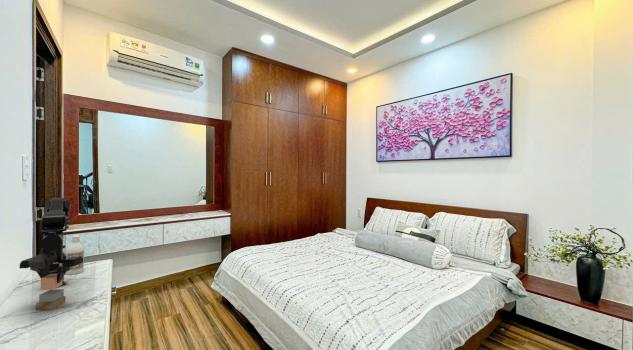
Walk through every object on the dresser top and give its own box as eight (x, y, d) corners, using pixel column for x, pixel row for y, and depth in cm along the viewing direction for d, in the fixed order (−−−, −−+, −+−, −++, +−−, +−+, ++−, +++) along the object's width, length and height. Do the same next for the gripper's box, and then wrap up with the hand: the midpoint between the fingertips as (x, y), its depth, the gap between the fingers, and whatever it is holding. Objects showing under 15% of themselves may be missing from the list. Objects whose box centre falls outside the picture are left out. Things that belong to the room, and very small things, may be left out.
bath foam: (64, 276, 137) (65, 237, 137) (67, 271, 142) (69, 235, 143) (81, 273, 140) (83, 236, 141) (84, 269, 146) (85, 234, 147)
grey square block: (39, 302, 103) (39, 294, 103) (50, 296, 108) (50, 289, 108) (53, 302, 104) (53, 294, 104) (63, 296, 109) (64, 289, 109)
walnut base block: (35, 311, 102) (36, 303, 102) (48, 303, 108) (49, 296, 108) (53, 310, 103) (53, 302, 103) (65, 303, 109) (65, 296, 109)
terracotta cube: (40, 289, 103) (40, 278, 103) (49, 284, 108) (50, 274, 108) (53, 289, 104) (54, 277, 104) (62, 284, 108) (62, 273, 108)
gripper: (6, 250, 96) (4, 293, 96) (64, 249, 100) (62, 290, 99) (33, 243, 107) (31, 281, 107) (84, 242, 111) (83, 279, 110)
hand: (51, 283), depth 106 cm, fingers closed on terracotta cube, 4 cm apart
